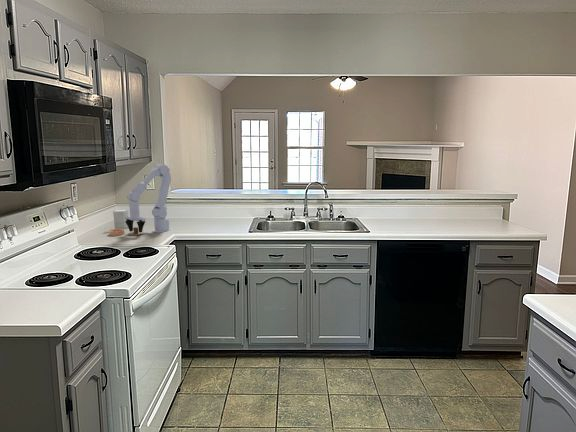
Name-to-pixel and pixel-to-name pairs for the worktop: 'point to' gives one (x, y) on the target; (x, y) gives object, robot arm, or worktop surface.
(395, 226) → the worktop surface
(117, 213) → the supplement box
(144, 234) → the mat
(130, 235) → the lid
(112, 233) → the bowl
